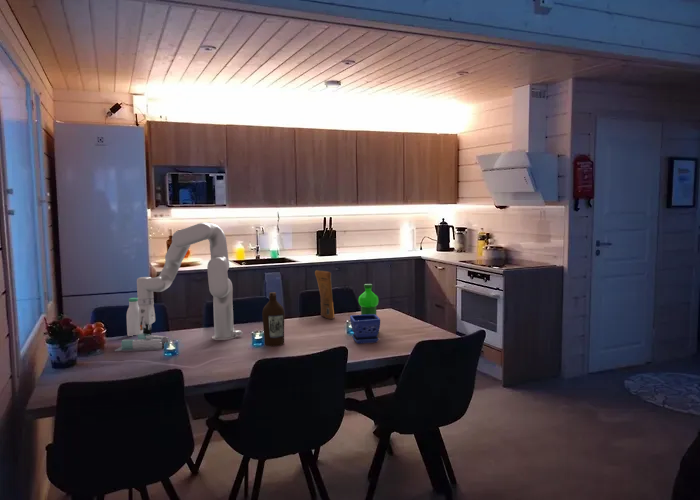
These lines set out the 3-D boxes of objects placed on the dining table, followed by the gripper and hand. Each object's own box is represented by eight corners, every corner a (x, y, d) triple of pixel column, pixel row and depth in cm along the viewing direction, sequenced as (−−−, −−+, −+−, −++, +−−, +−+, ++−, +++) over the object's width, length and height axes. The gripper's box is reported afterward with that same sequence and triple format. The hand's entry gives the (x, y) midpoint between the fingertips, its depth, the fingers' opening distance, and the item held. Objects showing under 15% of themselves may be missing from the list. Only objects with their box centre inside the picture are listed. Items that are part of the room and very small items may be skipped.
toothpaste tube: (171, 345, 266) (170, 336, 265) (166, 346, 263) (165, 337, 262) (142, 341, 274) (142, 333, 274) (137, 343, 271) (136, 334, 271)
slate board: (181, 340, 277) (181, 339, 277) (169, 350, 257) (169, 349, 257) (129, 342, 277) (129, 340, 277) (113, 352, 257) (113, 351, 257)
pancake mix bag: (327, 320, 320) (325, 272, 318) (315, 314, 337) (313, 269, 335) (337, 318, 323) (336, 271, 321) (325, 313, 340) (324, 268, 338)
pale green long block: (168, 346, 262) (168, 336, 262) (166, 348, 259) (165, 338, 258) (124, 348, 262) (123, 337, 261) (121, 350, 258) (120, 339, 258)
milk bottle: (137, 337, 288) (135, 299, 287) (124, 336, 290) (122, 299, 288) (145, 333, 296) (143, 297, 294) (133, 333, 297) (131, 297, 296)
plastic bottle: (362, 335, 280) (360, 286, 278) (357, 330, 290) (356, 283, 288) (381, 333, 282) (380, 285, 280) (376, 329, 292) (374, 282, 290)
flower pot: (381, 343, 261) (381, 318, 260) (354, 345, 259) (353, 320, 258) (375, 337, 274) (375, 313, 273) (349, 339, 272) (349, 315, 271)
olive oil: (260, 343, 268) (258, 292, 266) (281, 340, 273) (279, 290, 271) (266, 347, 259) (264, 295, 257) (288, 344, 263) (286, 293, 261)
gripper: (148, 304, 268) (150, 341, 270) (158, 299, 283) (160, 334, 285) (132, 304, 268) (134, 341, 270) (143, 299, 283) (145, 334, 284)
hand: (147, 337), depth 277 cm, fingers closed
